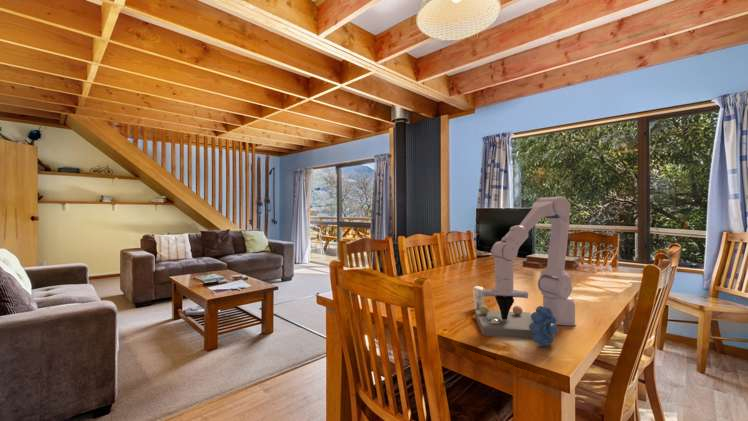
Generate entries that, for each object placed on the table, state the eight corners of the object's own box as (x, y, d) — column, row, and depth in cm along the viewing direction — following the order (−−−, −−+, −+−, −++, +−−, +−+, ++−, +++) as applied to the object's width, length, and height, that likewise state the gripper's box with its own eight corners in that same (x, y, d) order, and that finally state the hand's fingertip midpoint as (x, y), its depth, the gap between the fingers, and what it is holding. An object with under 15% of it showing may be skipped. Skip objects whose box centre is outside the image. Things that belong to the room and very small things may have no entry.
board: (529, 319, 117) (529, 312, 117) (547, 339, 99) (547, 331, 99) (475, 316, 120) (475, 310, 120) (483, 335, 102) (483, 327, 102)
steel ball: (487, 324, 110) (496, 328, 110) (489, 327, 107) (499, 331, 106) (490, 315, 110) (500, 319, 109) (493, 319, 107) (502, 322, 106)
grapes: (546, 357, 87) (546, 312, 87) (523, 348, 93) (523, 306, 93) (569, 347, 93) (569, 305, 93) (546, 339, 99) (546, 300, 99)
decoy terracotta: (521, 313, 115) (521, 304, 115) (523, 316, 112) (523, 307, 112) (511, 313, 116) (511, 304, 116) (514, 316, 113) (513, 307, 113)
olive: (488, 313, 116) (487, 304, 116) (489, 316, 113) (489, 306, 113) (478, 312, 117) (478, 303, 117) (480, 315, 114) (480, 306, 114)
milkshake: (480, 312, 125) (480, 286, 125) (470, 308, 130) (470, 283, 130) (488, 310, 127) (488, 285, 127) (478, 307, 132) (478, 282, 132)
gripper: (523, 276, 110) (523, 315, 110) (479, 274, 113) (479, 313, 113) (530, 280, 103) (530, 322, 103) (482, 279, 106) (483, 320, 106)
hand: (504, 318), depth 108 cm, fingers closed
